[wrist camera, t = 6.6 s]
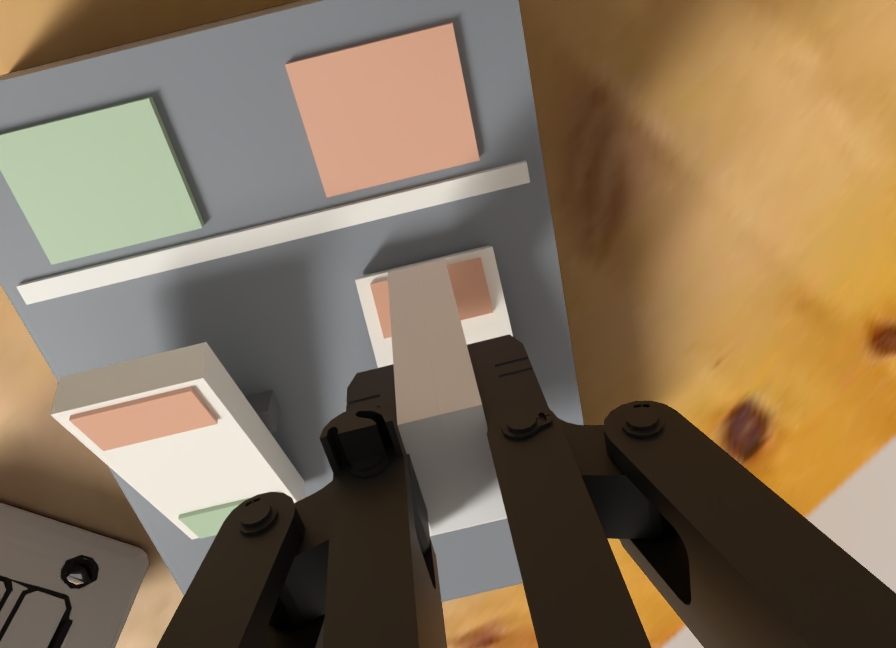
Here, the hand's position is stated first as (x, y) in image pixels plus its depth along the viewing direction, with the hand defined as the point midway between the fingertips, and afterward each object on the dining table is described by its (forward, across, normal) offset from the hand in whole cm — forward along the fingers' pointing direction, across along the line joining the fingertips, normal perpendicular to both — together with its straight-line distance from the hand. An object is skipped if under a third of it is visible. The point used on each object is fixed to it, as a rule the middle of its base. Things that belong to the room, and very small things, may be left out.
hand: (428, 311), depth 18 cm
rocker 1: (+1, -8, -3) cm, 9 cm away
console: (+9, -4, -3) cm, 10 cm away
